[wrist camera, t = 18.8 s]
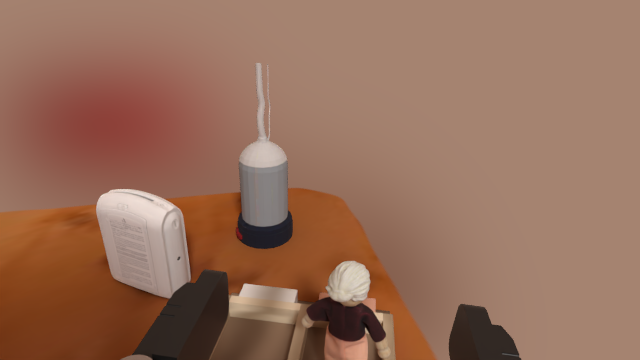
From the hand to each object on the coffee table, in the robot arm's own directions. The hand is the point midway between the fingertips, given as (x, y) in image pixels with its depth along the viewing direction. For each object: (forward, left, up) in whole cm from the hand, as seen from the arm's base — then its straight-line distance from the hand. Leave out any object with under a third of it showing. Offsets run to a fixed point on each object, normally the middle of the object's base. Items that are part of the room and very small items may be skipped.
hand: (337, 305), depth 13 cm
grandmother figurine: (0, +13, -21) cm, 25 cm away
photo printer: (-24, +25, -23) cm, 41 cm away
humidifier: (-13, +38, -23) cm, 46 cm away
